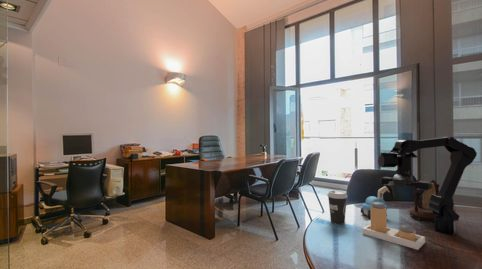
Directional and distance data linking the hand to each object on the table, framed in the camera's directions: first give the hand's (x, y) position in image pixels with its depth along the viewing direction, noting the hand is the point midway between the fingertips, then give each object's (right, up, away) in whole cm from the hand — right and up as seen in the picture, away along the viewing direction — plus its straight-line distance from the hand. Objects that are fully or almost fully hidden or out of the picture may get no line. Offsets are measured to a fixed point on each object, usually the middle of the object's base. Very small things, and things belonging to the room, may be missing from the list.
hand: (404, 201), depth 112 cm
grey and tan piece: (-9, -12, -14) cm, 21 cm away
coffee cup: (-26, -14, +12) cm, 32 cm away
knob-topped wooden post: (-15, -12, -6) cm, 21 cm away
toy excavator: (-1, -13, +20) cm, 24 cm away
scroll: (+21, -13, +15) cm, 29 cm away
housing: (-12, -13, -10) cm, 21 cm away
